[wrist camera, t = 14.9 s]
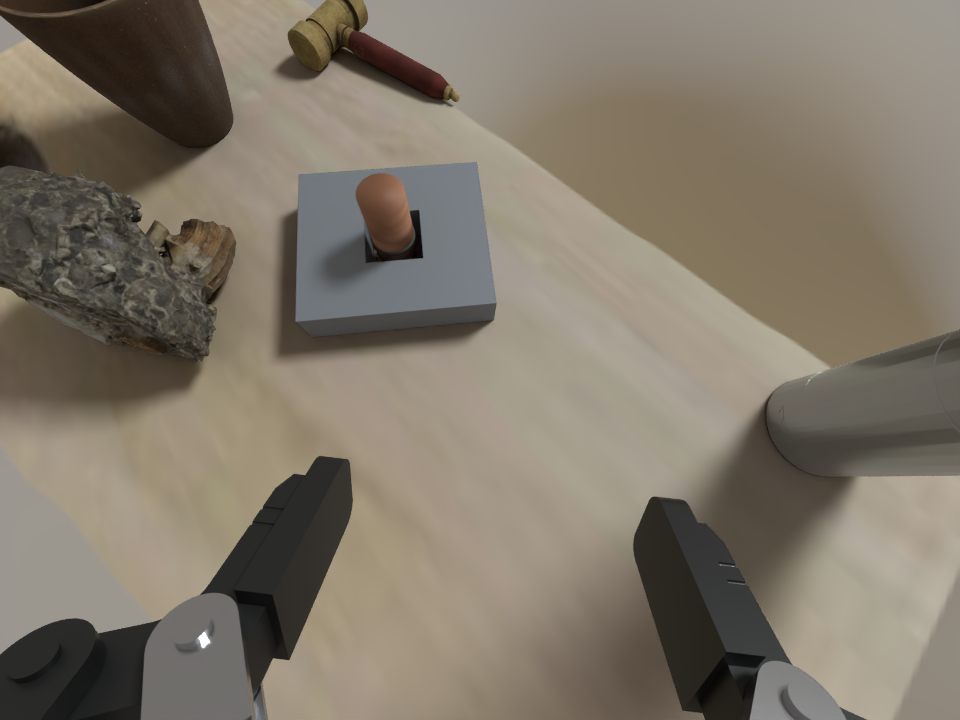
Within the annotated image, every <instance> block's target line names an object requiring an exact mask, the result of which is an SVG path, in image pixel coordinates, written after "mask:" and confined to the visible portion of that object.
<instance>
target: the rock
mask: <svg viewBox="0 0 960 720" xmlns="http://www.w3.org/2000/svg"><path fill="white" fill-rule="evenodd" d="M140 208H141V205H140V203H139V202H137V201H135V199H134V198H133V197H132V196H131V195H128V196H125V195H123V194H122V193H120V192H116V191H115V190H114V189H113V188H111V187H110V186H108V185H107V184H105V183H104V181H102V182H99V183H97V182H96V181H88V180H87V179H86V178H85V177H84V175H83V174H82V173H81V172H80V171H79V169H78V170H77V171H76V172H75V174H74V176H60V175H58V174H56V173H54V174H52V175H48V174H45V173H43V171H36V170H31V169H27V168H22V167H16V166H10V165H9V166H6V167H3V168H0V286H1V287H4V288H7V289H11V290H12V291H13V292H15V293H16V294H17V295H18V296H19V297H21V298H23V299H25V300H26V301H27V302H29V303H30V304H32V305H33V306H35V307H37V308H38V309H40V310H42V311H43V312H45V313H47V314H48V315H50V316H51V317H53V318H54V319H56V320H57V321H59V322H60V323H62V324H63V325H64V326H67V327H71V328H75V329H78V330H80V331H81V332H83V333H84V334H85V335H87V336H90V337H93V338H95V339H97V340H99V341H101V342H103V343H105V344H106V345H108V346H110V345H112V344H114V343H117V344H120V345H122V346H123V345H125V344H126V343H128V344H130V345H132V346H135V347H137V348H140V349H143V350H144V351H146V352H147V353H149V354H158V355H162V354H164V353H165V352H168V353H170V354H172V355H178V356H182V357H186V358H189V359H191V360H192V361H197V360H200V361H203V357H204V356H208V355H209V353H210V352H209V348H208V347H209V343H210V341H212V336H213V335H212V333H213V331H214V330H215V327H214V325H213V324H212V323H213V322H214V321H215V320H216V313H217V309H216V307H214V306H212V305H210V304H207V303H206V302H207V299H210V298H211V295H212V293H213V292H214V291H215V290H216V289H217V288H218V287H219V286H220V285H221V284H222V283H223V282H224V280H225V278H226V276H227V274H228V272H229V270H230V268H231V265H232V263H233V258H234V256H235V246H236V241H235V237H234V235H233V233H232V231H231V229H230V228H229V227H225V226H224V225H221V226H218V225H217V224H216V223H214V222H213V221H212V222H203V221H201V220H198V219H190V220H188V221H185V222H183V225H181V232H180V234H179V235H175V236H174V235H170V234H169V231H168V230H167V228H165V227H164V226H163V225H162V224H161V223H160V222H158V221H156V220H155V221H154V222H153V224H152V226H151V227H150V229H149V230H148V232H147V233H146V234H144V233H143V232H142V230H141V229H140V228H139V227H138V225H137V222H139V221H141V217H142V213H141V212H139V211H137V210H138V209H140ZM162 253H163V254H162ZM160 254H162V255H160Z"/></svg>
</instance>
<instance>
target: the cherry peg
mask: <svg viewBox="0 0 960 720" xmlns="http://www.w3.org/2000/svg"><path fill="white" fill-rule="evenodd" d="M356 200H357V203H358V205H359V208H360V210H361V213H362V216H363V218H364V221H365V223H366V226H367V228H368V231H369V233H370V236H371V241H372V243H373V246H374V247H375V249H376V251H377V253H378V255H379V257H380V258H381V259H382V260H384V261H395V260H407V259H416V258H415V251H416V247H417V244H416V239H415V230H414V227H413V225H412V220H411V216H410V211H409V206H408V202H407V197H406V192H405V188H404V185H403V183H402V182H401V181H400V180H399V179H398V178H397V177H395V176H393V175H390V174H386V173H377V174H372V175H370V176H368V177H366V178H364V179H363V180H362V181H361V182H360V183H359V185H358V186H357V189H356Z"/></svg>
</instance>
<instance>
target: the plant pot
mask: <svg viewBox="0 0 960 720" xmlns="http://www.w3.org/2000/svg"><path fill="white" fill-rule="evenodd" d="M0 15H1V16H2V17H3V18H4V19H5V20H7V21H8V22H9V23H10V24H11V25H13V26H14V27H15V28H16V29H18V30H19V31H20V32H21V33H22V34H24V35H25V36H26V37H27V38H28V39H30V40H31V41H32V42H33V43H35V44H36V45H37V46H38V47H40V48H41V49H42V50H43V51H44V52H46V53H47V54H48V55H50V56H51V57H52V58H53V59H55V60H56V61H57V62H59V63H60V64H61V65H62V66H64V67H65V68H66V69H68V70H69V71H70V72H72V73H73V74H74V75H75V76H77V77H78V78H79V79H81V80H82V81H84V82H85V83H86V84H88V85H89V86H90V87H92V88H93V89H94V90H96V91H97V92H99V93H100V94H101V95H103V96H104V97H106V98H107V99H109V100H110V101H111V102H113V103H114V104H116V105H117V106H119V107H120V108H122V109H123V110H125V111H126V112H128V113H129V114H130V115H132V116H133V117H135V118H137V119H138V120H140V121H141V122H143V123H144V124H146V125H148V126H149V127H151V128H152V129H154V130H156V131H157V132H159V133H161V134H162V135H164V136H166V137H168V138H169V139H171V140H173V141H175V142H176V143H178V144H180V145H183V146H186V147H192V148H199V147H205V146H209V145H212V144H214V143H216V142H218V141H219V140H221V139H222V138H223V137H224V136H225V135H226V134H227V133H228V132H229V130H230V129H231V127H232V124H233V113H232V108H231V103H230V98H229V94H228V90H227V86H226V82H225V78H224V75H223V71H222V67H221V64H220V60H219V57H218V54H217V51H216V48H215V45H214V42H213V39H212V36H211V33H210V30H209V28H208V25H207V22H206V19H205V16H204V14H203V11H202V8H201V6H200V3H199V0H0Z"/></svg>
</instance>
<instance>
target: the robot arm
mask: <svg viewBox="0 0 960 720" xmlns="http://www.w3.org/2000/svg"><path fill="white" fill-rule="evenodd" d="M766 422H767V426H768V431H769V434H770V436H771V438H772V440H773V442H774V444H775V446H776V447H777V449H778V450H779V452H780V453H781V454H782V455H783V456H784V457H785V458H786V459H787V460H788V461H789V462H791V463H792V464H793V465H795V466H796V467H797V468H799V469H801V470H803V471H805V472H807V473H810V474H814V475H817V476H826V477H845V476H960V329H959V330H956V331H953V332H950V333H946V334H943V335H940V336H936V337H933V338H930V339H927V340H924V341H920V342H917V343H914V344H910V345H907V346H904V347H901V348H897V349H894V350H891V351H888V352H885V353H881V354H878V355H874V356H871V357H868V358H865V359H861V360H858V361H855V362H852V363H848V364H845V365H842V366H838V367H835V368H832V369H828V370H825V371H821V372H818V373H815V374H812V375H809V376H805V377H802V378H799V379H796V380H793V381H790V382H787V383H784V384H783V385H781V386H780V387H778V388H777V389H776V391H775V392H774V393H773V394H772V396H771V398H770V400H769V402H768V406H767V410H766ZM352 503H353V498H352V485H351V473H350V463H349V460H348V459H341V458H333V457H324V456H319V457H317V458H316V459H315V461H314V462H313V464H312V465H311V467H310V469H309V470H308V472H307V473H306V475H298V474H293V475H292V476H291V477H289V478H288V479H287V480H286V481H284V482H283V483H282V484H280V485H279V486H278V487H276V488H275V490H274V491H273V493H272V494H271V495H270V497H269V498H268V500H267V501H266V503H265V504H264V506H263V509H262V510H260V511H259V513H258V514H257V516H256V517H255V519H254V520H253V523H252V525H250V526H249V527H248V529H247V530H246V532H245V533H244V535H243V536H242V537H241V539H240V540H239V542H238V543H237V545H236V546H235V548H234V549H233V550H232V552H231V553H230V555H229V556H228V558H227V559H226V561H225V562H224V564H223V565H222V566H221V568H220V569H219V571H218V572H217V574H216V575H215V577H214V578H213V579H212V581H211V582H210V584H209V585H208V586H207V588H206V589H205V590H204V591H203V592H202V593H201V594H200V595H199V596H196V597H193V598H191V599H189V600H187V601H185V602H183V603H182V604H180V605H178V606H177V607H176V608H174V609H173V610H172V611H170V612H169V613H168V614H167V615H166V616H165V617H164V618H163V619H161V620H158V621H155V622H151V623H146V624H142V625H137V626H132V627H127V628H122V629H118V630H113V631H108V632H103V633H99V634H98V633H97V631H96V630H95V629H94V627H93V625H92V624H91V623H89V622H88V621H86V620H83V619H65V620H60V621H57V622H53V623H51V624H48V625H45V626H43V627H41V628H39V629H37V630H35V631H33V632H31V633H29V634H28V635H26V636H24V637H23V638H21V639H20V640H18V641H17V642H15V643H14V644H13V645H11V646H10V647H9V648H8V649H6V650H5V651H4V652H3V653H2V654H1V655H0V720H268V715H267V709H266V702H265V696H264V690H263V683H262V681H263V678H264V676H265V674H266V672H267V670H268V668H269V665H270V663H271V661H272V659H273V658H276V659H284V660H290V657H291V655H292V653H293V650H294V648H295V646H296V643H297V641H298V639H299V636H300V634H301V632H302V629H303V627H304V625H305V622H306V620H307V618H308V615H309V613H310V611H311V608H312V606H313V604H314V601H315V599H316V597H317V594H318V592H319V590H320V587H321V585H322V583H323V580H324V578H325V576H326V573H327V571H328V569H329V566H330V564H331V562H332V559H333V557H334V555H335V553H336V550H337V548H338V546H339V543H340V541H341V539H342V536H343V534H344V532H345V529H346V527H347V525H348V522H349V519H350V515H351V511H352ZM633 548H634V556H635V561H636V564H637V567H638V570H639V573H640V577H641V580H642V583H643V586H644V589H645V592H646V596H647V599H648V602H649V605H650V608H651V612H652V615H653V618H654V621H655V624H656V627H657V631H658V634H659V637H660V640H661V643H662V647H663V650H664V653H665V656H666V659H667V662H668V666H669V669H670V672H671V675H672V678H673V682H674V685H675V688H676V691H677V694H678V697H679V701H680V704H681V707H682V710H683V711H691V712H699V713H703V715H704V718H705V720H866V719H864V718H862V717H860V716H857V715H855V714H853V713H851V712H848V711H846V710H844V709H842V708H841V707H839V706H838V704H837V703H836V702H835V700H834V699H833V698H832V696H831V695H830V694H829V693H828V692H827V691H826V690H825V689H824V688H823V687H822V686H821V684H819V683H818V682H817V681H816V680H815V679H814V678H812V677H811V676H810V675H808V674H807V673H806V672H804V671H802V670H801V669H799V668H797V667H795V666H793V665H792V664H791V662H790V660H789V659H788V657H787V656H786V654H785V652H784V650H783V648H782V647H781V645H780V643H779V641H778V639H777V638H776V636H775V634H774V632H773V630H772V629H771V627H770V625H769V623H768V621H767V620H766V618H765V616H764V614H763V612H762V611H761V609H760V607H759V605H758V603H757V602H756V600H755V598H754V596H753V594H752V593H751V591H750V589H749V587H748V586H746V585H745V580H744V578H743V576H742V575H741V573H740V571H739V569H738V568H736V567H735V562H734V560H733V558H732V557H731V555H730V553H729V551H728V549H727V548H726V546H725V544H724V542H723V541H722V540H721V539H720V538H719V537H718V536H717V535H716V534H715V533H714V532H713V531H712V530H711V529H710V528H709V527H708V526H707V525H706V524H702V523H697V521H696V519H695V517H694V515H693V513H692V511H691V509H690V507H689V505H688V504H687V503H686V502H685V501H684V500H680V499H671V498H663V497H652V498H651V499H650V500H649V502H648V505H647V507H646V509H645V512H644V514H643V516H642V519H641V521H640V523H639V526H638V528H637V531H636V533H635V536H634V544H633Z"/></svg>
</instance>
